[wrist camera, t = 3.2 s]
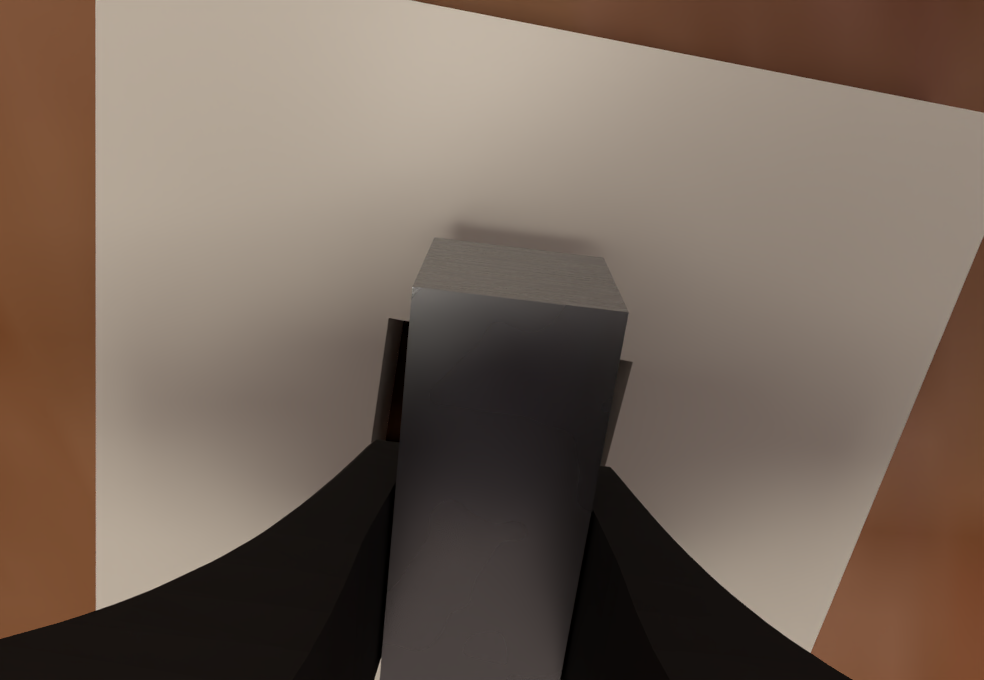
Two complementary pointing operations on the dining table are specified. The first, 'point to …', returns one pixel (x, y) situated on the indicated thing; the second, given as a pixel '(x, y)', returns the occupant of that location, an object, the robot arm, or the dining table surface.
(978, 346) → the dining table surface
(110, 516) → the key housing
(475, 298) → the t key
